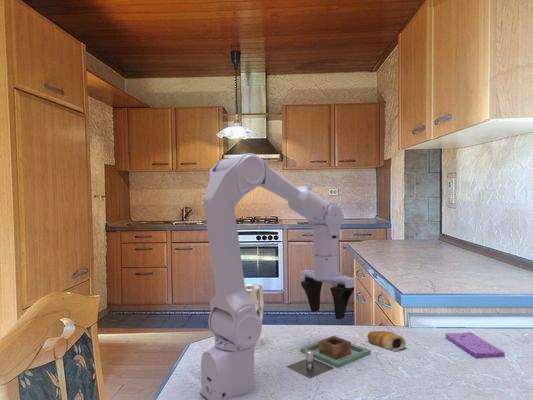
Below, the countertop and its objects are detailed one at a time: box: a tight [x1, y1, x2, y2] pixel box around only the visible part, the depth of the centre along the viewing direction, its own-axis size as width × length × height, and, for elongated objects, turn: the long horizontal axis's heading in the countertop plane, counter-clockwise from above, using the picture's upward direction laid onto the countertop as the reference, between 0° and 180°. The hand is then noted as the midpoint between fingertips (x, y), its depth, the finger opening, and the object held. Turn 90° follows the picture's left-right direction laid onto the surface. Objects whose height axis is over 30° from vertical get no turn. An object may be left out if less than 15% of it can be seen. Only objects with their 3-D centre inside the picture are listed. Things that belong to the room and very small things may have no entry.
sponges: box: [445, 331, 506, 359], centre depth 87 cm, size 7×13×2 cm, turn 3°
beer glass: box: [245, 283, 265, 350], centre depth 88 cm, size 7×7×15 cm
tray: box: [299, 341, 372, 369], centre depth 82 cm, size 11×11×2 cm
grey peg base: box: [286, 350, 335, 379], centre depth 75 cm, size 7×7×4 cm
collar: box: [318, 335, 352, 361], centre depth 82 cm, size 5×5×3 cm
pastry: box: [367, 330, 407, 353], centre depth 89 cm, size 9×7×4 cm
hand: (327, 314), depth 83 cm, fingers open, 7 cm apart
